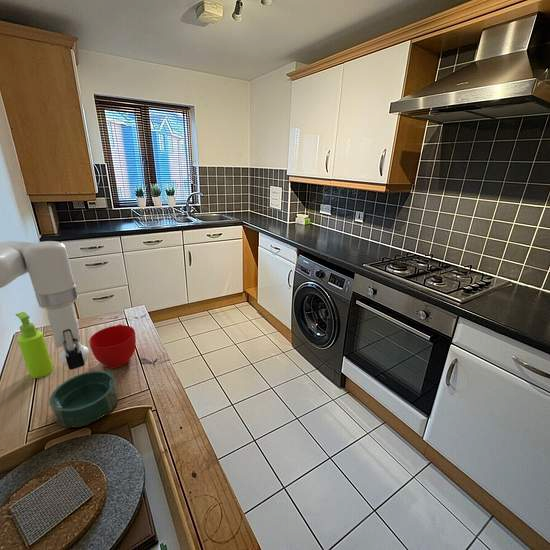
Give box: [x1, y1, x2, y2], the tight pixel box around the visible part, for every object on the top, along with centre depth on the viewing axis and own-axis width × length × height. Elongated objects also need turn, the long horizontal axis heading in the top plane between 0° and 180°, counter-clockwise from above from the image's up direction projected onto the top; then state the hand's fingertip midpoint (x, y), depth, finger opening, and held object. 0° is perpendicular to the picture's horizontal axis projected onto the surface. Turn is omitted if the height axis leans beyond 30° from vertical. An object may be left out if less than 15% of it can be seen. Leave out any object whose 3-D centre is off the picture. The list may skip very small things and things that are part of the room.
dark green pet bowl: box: [49, 370, 120, 428], centre depth 78 cm, size 15×15×6 cm
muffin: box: [59, 341, 90, 371], centre depth 73 cm, size 6×6×7 cm
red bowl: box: [88, 323, 137, 369], centre depth 96 cm, size 13×17×10 cm
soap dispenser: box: [15, 311, 54, 379], centre depth 88 cm, size 6×7×20 cm
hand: (75, 359), depth 73 cm, fingers closed on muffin, 6 cm apart
